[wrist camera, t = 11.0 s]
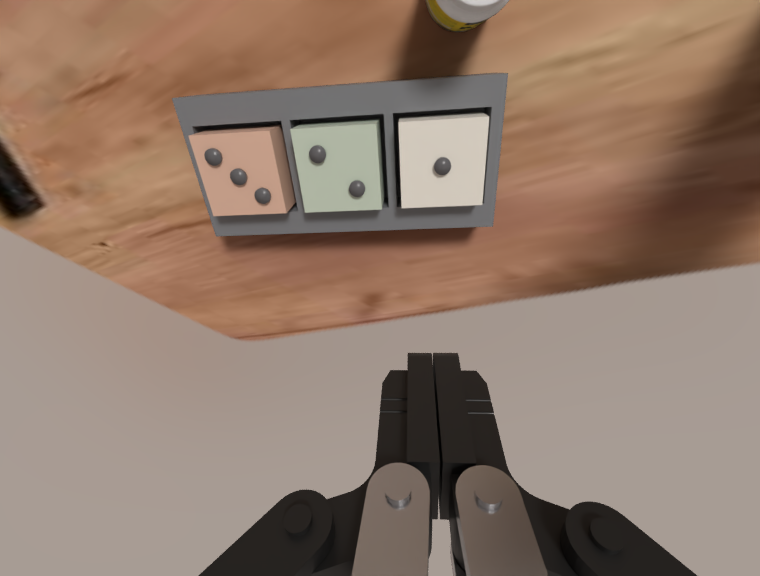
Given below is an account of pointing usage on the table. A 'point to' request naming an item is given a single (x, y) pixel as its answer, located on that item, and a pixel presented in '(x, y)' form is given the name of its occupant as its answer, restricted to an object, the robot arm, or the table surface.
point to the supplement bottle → (463, 12)
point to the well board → (355, 105)
